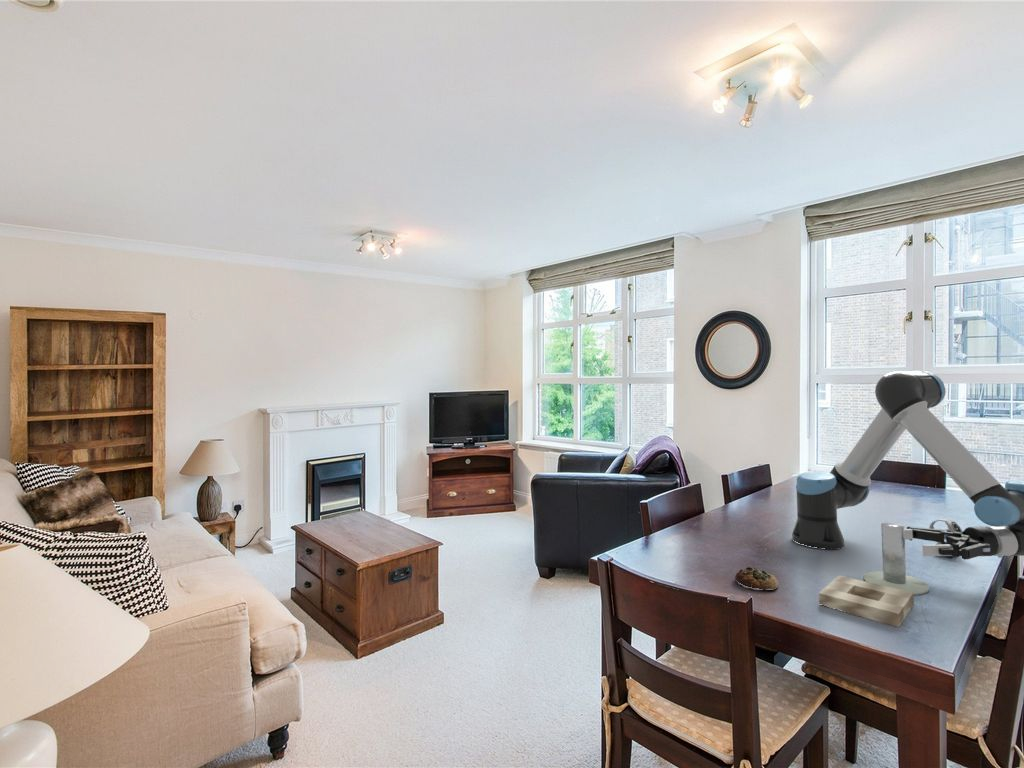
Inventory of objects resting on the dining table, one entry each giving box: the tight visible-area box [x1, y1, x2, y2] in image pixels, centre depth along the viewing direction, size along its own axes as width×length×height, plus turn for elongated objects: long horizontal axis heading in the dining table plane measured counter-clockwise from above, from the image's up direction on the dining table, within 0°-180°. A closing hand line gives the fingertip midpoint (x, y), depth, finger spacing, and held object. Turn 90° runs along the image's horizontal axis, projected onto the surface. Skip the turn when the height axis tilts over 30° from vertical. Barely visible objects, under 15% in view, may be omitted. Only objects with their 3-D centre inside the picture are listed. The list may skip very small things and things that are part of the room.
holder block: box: [818, 575, 915, 628], centre depth 124 cm, size 16×16×3 cm
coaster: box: [863, 570, 930, 596], centre depth 136 cm, size 14×14×1 cm
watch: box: [928, 518, 964, 560], centre depth 157 cm, size 6×8×11 cm
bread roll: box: [734, 566, 779, 589], centre depth 139 cm, size 11×11×5 cm
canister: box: [880, 522, 907, 584], centre depth 137 cm, size 5×5×15 cm
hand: (904, 542), depth 136 cm, fingers open, 13 cm apart
